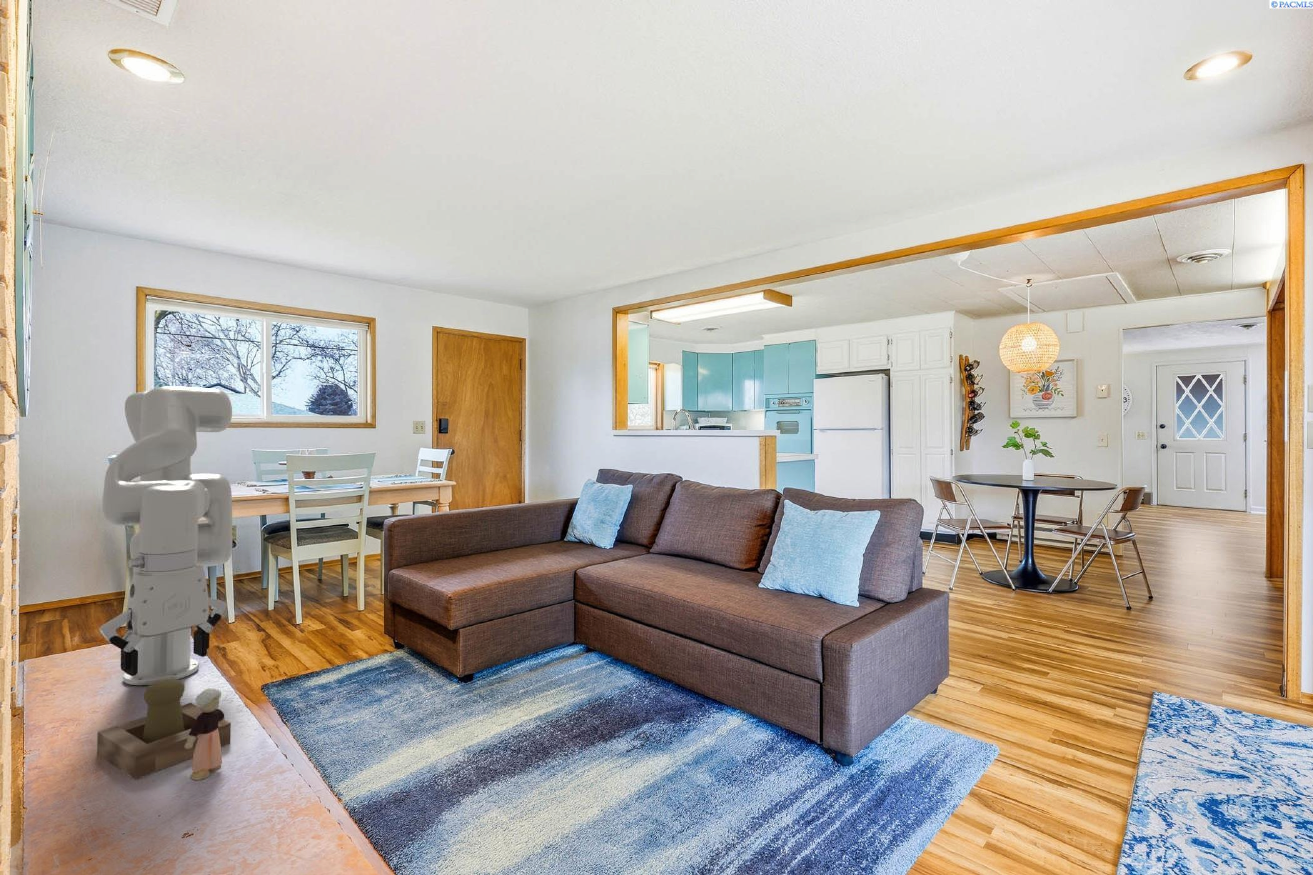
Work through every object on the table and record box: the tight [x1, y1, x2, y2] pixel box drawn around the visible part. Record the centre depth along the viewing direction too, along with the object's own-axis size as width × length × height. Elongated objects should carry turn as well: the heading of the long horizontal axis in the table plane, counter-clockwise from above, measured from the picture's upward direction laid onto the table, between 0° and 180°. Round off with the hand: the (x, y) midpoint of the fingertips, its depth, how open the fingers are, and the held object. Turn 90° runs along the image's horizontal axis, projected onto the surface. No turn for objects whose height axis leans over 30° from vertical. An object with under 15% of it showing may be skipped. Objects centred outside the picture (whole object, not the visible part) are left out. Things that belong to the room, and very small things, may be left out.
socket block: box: [96, 702, 232, 780], centre depth 102 cm, size 14×13×4 cm
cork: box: [142, 679, 185, 744], centre depth 102 cm, size 6×6×11 cm
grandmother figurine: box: [185, 687, 227, 781], centre depth 96 cm, size 8×4×13 cm, turn 9°
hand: (166, 663), depth 103 cm, fingers open, 9 cm apart
